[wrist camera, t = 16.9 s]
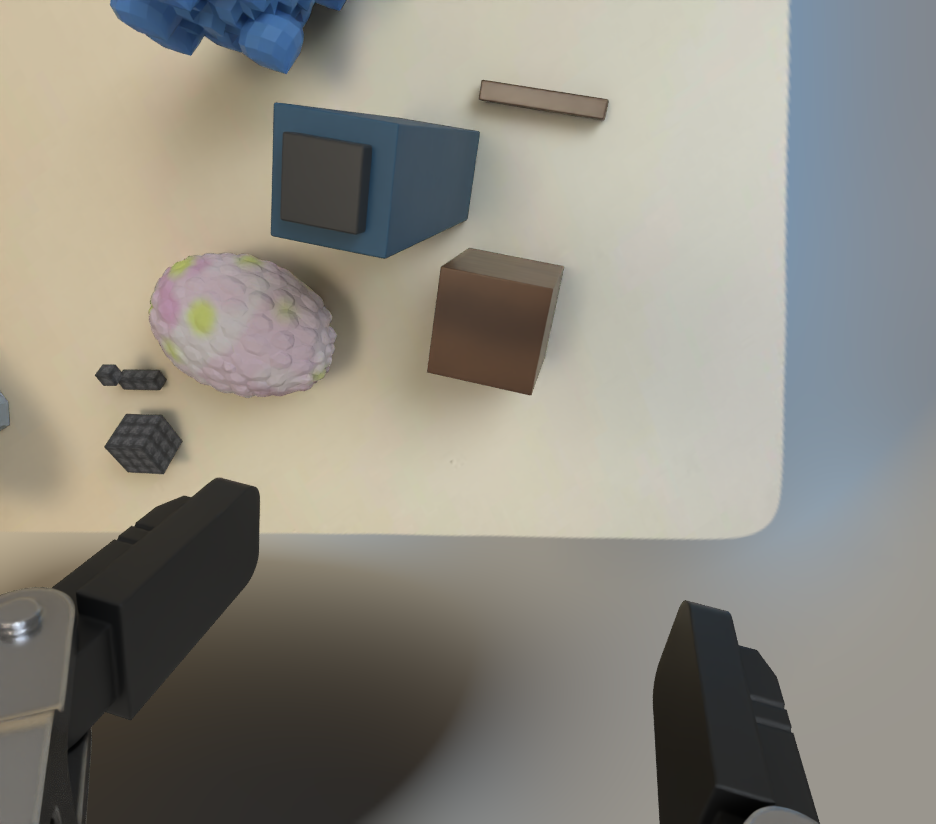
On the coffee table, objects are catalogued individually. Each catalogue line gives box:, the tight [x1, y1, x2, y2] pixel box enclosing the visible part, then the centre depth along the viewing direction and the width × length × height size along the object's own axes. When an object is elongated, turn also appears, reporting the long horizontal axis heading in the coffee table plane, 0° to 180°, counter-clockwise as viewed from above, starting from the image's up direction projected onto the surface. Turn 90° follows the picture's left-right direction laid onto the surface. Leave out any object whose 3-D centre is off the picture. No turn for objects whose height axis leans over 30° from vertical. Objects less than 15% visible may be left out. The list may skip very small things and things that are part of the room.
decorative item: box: [149, 253, 337, 398], centre depth 41 cm, size 9×11×10 cm
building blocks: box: [95, 365, 182, 474], centre depth 47 cm, size 3×6×8 cm
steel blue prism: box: [271, 102, 480, 259], centre depth 32 cm, size 14×5×14 cm
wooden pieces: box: [427, 80, 608, 395], centre depth 35 cm, size 15×7×7 cm, turn 171°
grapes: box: [110, 0, 347, 74], centre depth 31 cm, size 12×7×12 cm, turn 111°
